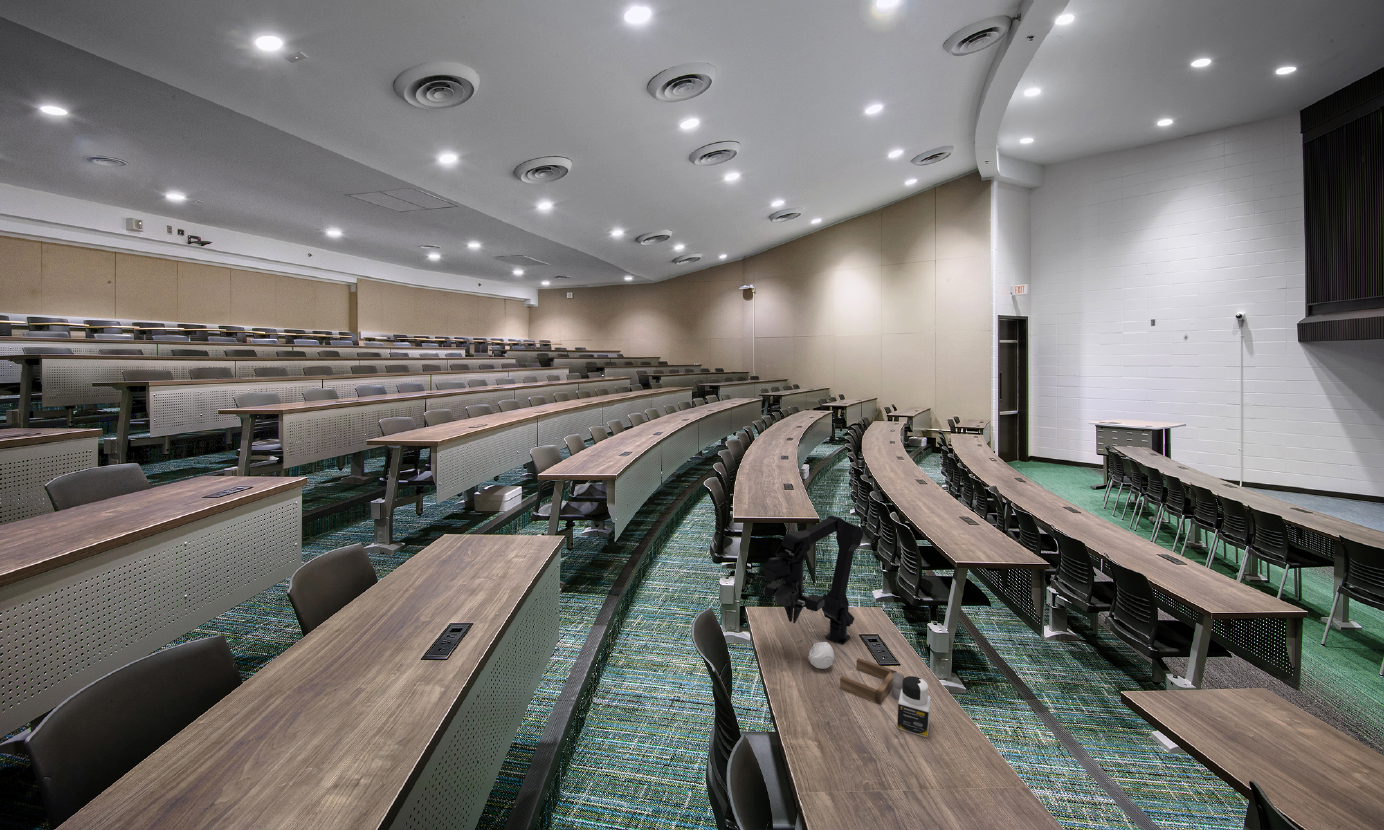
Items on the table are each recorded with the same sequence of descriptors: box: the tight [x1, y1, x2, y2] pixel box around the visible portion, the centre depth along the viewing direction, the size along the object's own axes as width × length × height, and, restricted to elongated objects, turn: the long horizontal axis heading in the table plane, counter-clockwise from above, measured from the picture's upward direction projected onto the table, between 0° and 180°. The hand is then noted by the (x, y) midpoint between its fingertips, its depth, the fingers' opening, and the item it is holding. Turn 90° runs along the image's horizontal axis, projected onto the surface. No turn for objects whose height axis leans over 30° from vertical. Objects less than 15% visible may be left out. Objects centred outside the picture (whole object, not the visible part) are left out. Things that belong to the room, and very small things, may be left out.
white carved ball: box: [808, 641, 835, 670], centre depth 161 cm, size 8×8×8 cm
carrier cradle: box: [839, 657, 905, 705], centre depth 151 cm, size 14×16×6 cm
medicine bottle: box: [896, 675, 932, 738], centre depth 135 cm, size 7×7×12 cm
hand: (792, 622), depth 167 cm, fingers closed
